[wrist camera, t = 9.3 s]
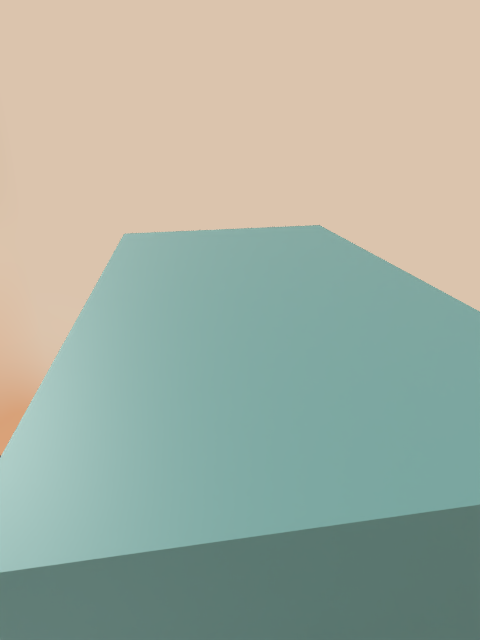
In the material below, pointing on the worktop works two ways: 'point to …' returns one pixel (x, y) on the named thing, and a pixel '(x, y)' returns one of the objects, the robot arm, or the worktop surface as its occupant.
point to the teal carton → (249, 451)
